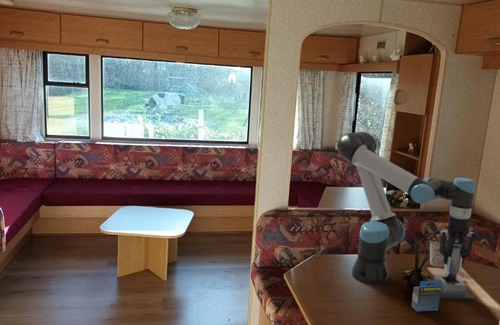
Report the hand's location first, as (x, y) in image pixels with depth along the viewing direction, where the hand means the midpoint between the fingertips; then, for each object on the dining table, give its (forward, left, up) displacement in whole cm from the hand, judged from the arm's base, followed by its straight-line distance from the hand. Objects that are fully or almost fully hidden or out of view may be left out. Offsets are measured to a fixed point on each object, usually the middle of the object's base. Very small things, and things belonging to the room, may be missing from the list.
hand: (451, 271), depth 167 cm
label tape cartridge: (-17, -15, -9) cm, 24 cm away
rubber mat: (+6, +15, -9) cm, 18 cm away
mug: (+8, +28, -9) cm, 30 cm away
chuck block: (0, 0, -9) cm, 9 cm away
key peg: (0, 0, -4) cm, 4 cm away
